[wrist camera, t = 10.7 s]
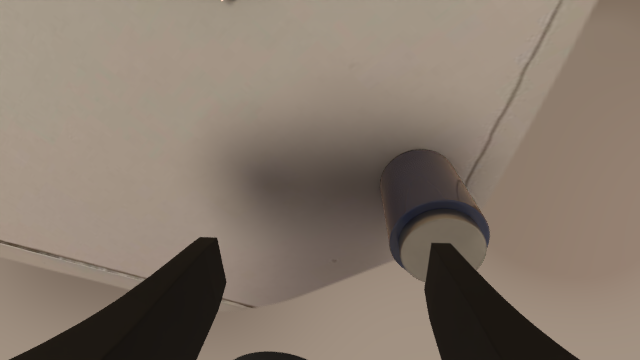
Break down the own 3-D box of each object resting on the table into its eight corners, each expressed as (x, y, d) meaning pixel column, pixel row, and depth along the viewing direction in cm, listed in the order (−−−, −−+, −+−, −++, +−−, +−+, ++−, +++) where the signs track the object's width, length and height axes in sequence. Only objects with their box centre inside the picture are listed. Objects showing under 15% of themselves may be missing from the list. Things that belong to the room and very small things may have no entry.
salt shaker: (449, 215, 21) (486, 292, 16) (378, 213, 22) (388, 289, 16) (461, 149, 19) (507, 211, 14) (381, 149, 20) (395, 209, 14)
